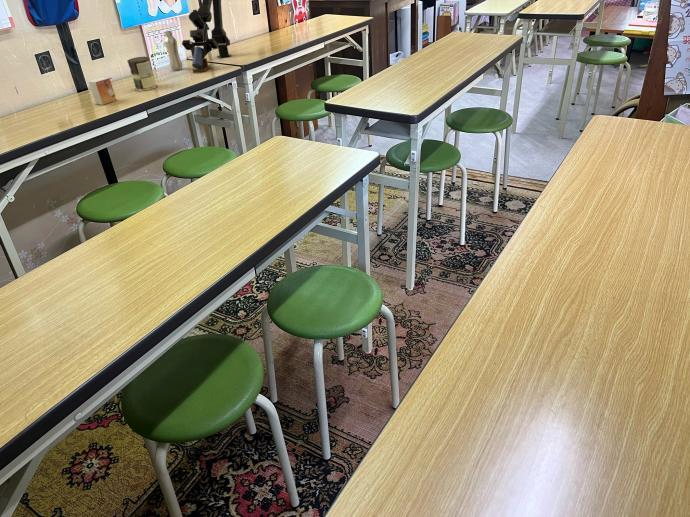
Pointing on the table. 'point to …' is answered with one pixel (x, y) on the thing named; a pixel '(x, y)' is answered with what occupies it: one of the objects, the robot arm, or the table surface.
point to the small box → (102, 90)
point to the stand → (203, 67)
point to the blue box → (197, 58)
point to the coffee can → (142, 73)
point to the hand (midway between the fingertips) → (198, 58)
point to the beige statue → (172, 51)
